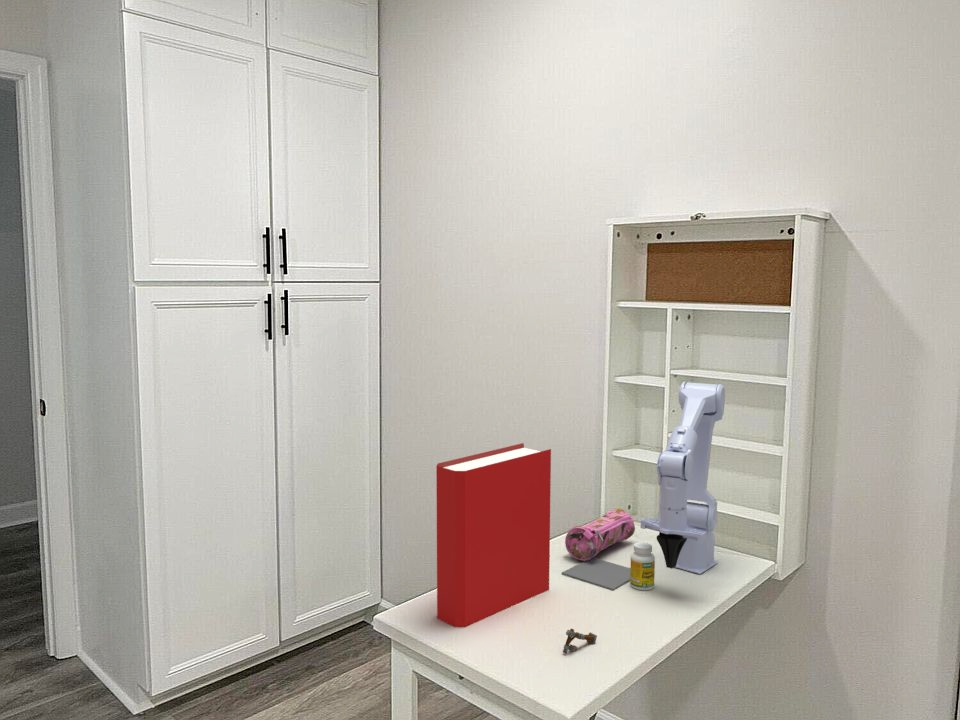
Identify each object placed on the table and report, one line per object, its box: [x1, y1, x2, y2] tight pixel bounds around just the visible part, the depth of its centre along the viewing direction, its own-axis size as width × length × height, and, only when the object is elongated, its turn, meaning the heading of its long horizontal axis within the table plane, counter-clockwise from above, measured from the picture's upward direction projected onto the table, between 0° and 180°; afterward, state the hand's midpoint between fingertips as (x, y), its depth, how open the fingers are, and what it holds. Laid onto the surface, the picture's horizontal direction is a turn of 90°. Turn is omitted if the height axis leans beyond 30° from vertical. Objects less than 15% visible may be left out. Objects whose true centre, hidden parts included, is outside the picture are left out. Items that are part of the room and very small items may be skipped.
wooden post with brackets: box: [562, 628, 598, 654], centre depth 150 cm, size 2×8×4 cm, turn 130°
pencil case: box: [564, 507, 636, 562], centre depth 200 cm, size 21×9×9 cm, turn 142°
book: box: [436, 442, 552, 628], centre depth 168 cm, size 27×8×32 cm, turn 135°
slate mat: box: [561, 556, 631, 591], centre depth 186 cm, size 13×14×1 cm
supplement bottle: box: [629, 541, 656, 591], centre depth 178 cm, size 5×5×10 cm
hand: (671, 566), depth 173 cm, fingers closed
